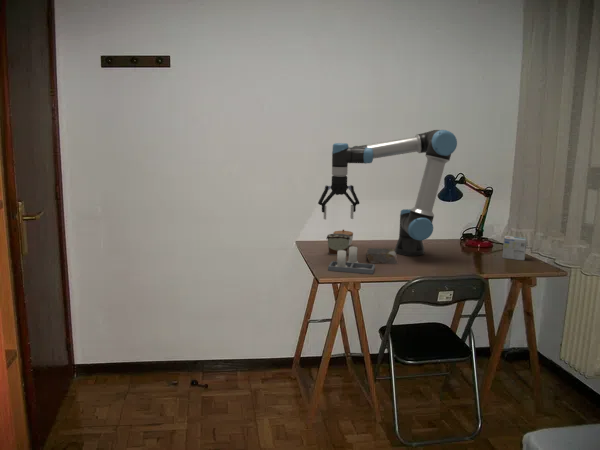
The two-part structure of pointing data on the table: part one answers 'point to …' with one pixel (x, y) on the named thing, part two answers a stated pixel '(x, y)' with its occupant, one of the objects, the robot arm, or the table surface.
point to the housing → (349, 265)
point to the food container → (337, 243)
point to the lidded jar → (346, 234)
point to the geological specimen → (382, 256)
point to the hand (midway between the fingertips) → (338, 218)
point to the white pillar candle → (353, 254)
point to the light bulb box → (514, 248)
